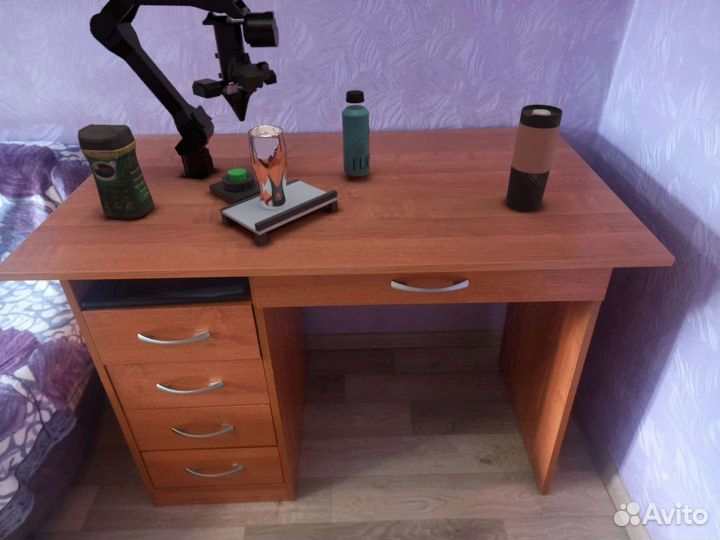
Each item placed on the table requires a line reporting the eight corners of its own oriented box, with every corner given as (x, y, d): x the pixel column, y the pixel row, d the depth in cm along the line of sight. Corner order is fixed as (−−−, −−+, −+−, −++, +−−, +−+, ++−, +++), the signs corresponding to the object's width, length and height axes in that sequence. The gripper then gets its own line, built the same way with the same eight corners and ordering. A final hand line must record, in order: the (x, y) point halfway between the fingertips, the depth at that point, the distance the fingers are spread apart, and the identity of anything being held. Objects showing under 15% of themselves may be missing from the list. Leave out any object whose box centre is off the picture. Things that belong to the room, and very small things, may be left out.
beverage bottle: (350, 184, 111) (348, 96, 100) (338, 174, 116) (335, 89, 105) (375, 179, 113) (375, 92, 102) (362, 169, 118) (361, 86, 107)
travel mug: (542, 199, 103) (563, 105, 92) (541, 214, 97) (563, 117, 86) (506, 194, 105) (522, 102, 94) (503, 209, 100) (520, 113, 88)
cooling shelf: (222, 223, 97) (218, 203, 94) (298, 191, 108) (296, 173, 106) (260, 246, 89) (257, 225, 86) (338, 210, 100) (337, 190, 98)
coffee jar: (160, 204, 104) (136, 119, 93) (142, 221, 97) (114, 132, 87) (119, 202, 105) (91, 118, 94) (98, 219, 98) (66, 131, 88)
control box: (210, 193, 108) (206, 177, 106) (243, 181, 114) (240, 165, 111) (238, 208, 102) (235, 191, 100) (271, 194, 107) (269, 178, 105)
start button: (225, 179, 106) (224, 171, 105) (240, 173, 108) (239, 166, 107) (235, 184, 103) (234, 176, 102) (250, 178, 106) (249, 171, 105)
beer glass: (293, 209, 94) (285, 135, 86) (258, 212, 93) (246, 138, 85) (290, 194, 100) (283, 123, 91) (257, 197, 99) (246, 126, 90)
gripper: (212, 59, 91) (226, 139, 100) (288, 46, 102) (295, 118, 111) (183, 52, 97) (199, 127, 106) (258, 40, 108) (266, 109, 117)
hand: (242, 121), depth 110 cm, fingers closed
